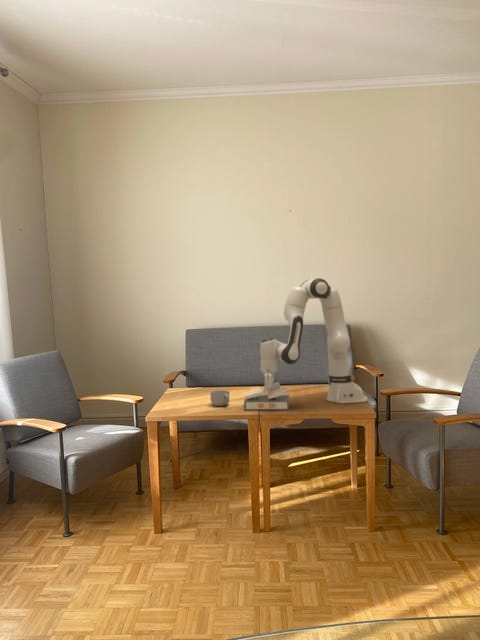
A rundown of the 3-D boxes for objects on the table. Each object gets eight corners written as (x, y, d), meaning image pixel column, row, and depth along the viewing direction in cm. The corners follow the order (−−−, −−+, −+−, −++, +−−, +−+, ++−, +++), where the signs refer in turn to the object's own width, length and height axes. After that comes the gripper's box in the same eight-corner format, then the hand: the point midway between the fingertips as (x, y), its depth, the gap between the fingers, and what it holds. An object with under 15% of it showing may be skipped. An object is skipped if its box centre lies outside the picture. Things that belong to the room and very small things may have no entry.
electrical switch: (274, 400, 315) (272, 384, 315) (266, 400, 318) (265, 384, 318) (283, 397, 322) (281, 381, 322) (276, 397, 326) (274, 381, 325)
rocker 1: (265, 389, 306) (264, 387, 305) (264, 394, 295) (263, 391, 295) (248, 394, 307) (247, 391, 307) (246, 399, 296) (245, 396, 296)
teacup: (208, 404, 312) (207, 390, 312) (226, 402, 316) (225, 388, 315) (216, 409, 299) (215, 395, 298) (234, 407, 303) (234, 393, 302)
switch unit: (289, 403, 306) (289, 391, 306) (289, 410, 292) (288, 397, 291) (246, 404, 309) (246, 392, 308) (244, 410, 295) (243, 398, 294)
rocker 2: (287, 389, 304) (286, 386, 304) (286, 393, 293) (285, 391, 293) (269, 394, 306) (269, 391, 305) (268, 399, 295) (267, 396, 295)
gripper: (273, 371, 288) (274, 397, 289) (275, 364, 308) (276, 389, 310) (261, 371, 289) (262, 397, 290) (264, 365, 309) (264, 389, 310)
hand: (269, 393), depth 300 cm, fingers open, 8 cm apart
